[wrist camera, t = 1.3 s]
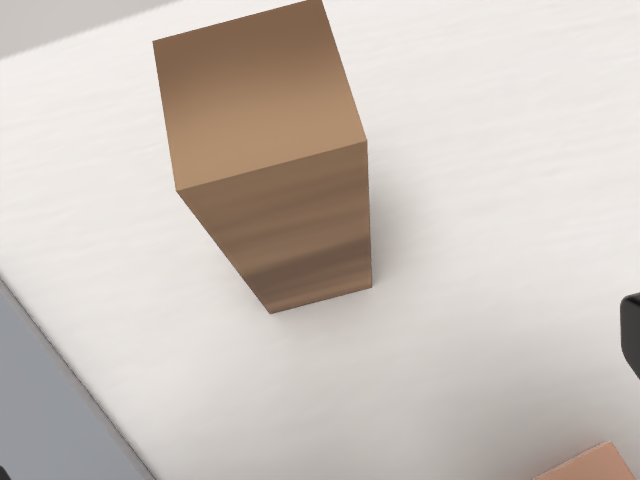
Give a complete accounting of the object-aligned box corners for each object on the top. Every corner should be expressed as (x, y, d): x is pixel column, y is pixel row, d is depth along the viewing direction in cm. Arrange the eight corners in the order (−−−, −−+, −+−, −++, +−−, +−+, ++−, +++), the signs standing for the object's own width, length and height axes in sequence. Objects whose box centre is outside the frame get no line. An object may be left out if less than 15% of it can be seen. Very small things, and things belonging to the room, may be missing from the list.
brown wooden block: (372, 287, 22) (367, 140, 12) (270, 314, 22) (176, 191, 12) (345, 196, 23) (320, -4, 13) (250, 221, 23) (152, 41, 13)
